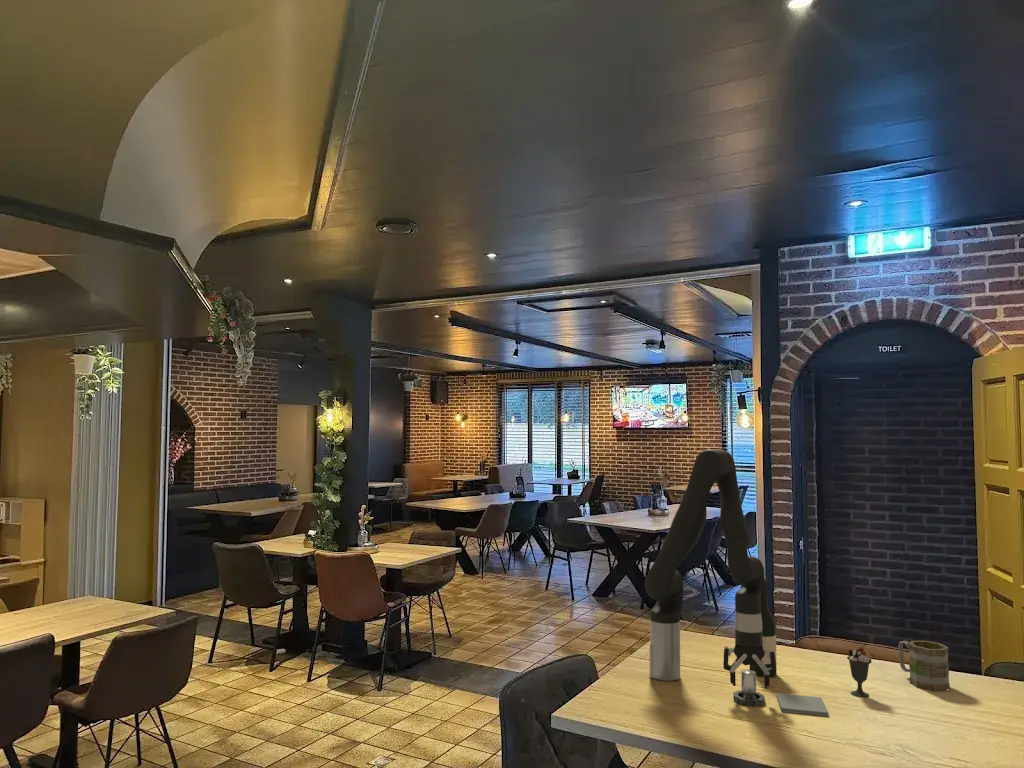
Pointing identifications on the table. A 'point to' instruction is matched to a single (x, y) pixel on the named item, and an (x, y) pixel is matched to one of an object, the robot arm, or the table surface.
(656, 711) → the table surface
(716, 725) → the table surface
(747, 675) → the cylinder
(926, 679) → the mug
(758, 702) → the metal eye
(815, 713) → the slate mat
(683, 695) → the table surface
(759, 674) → the wine bottle
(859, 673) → the sundae
